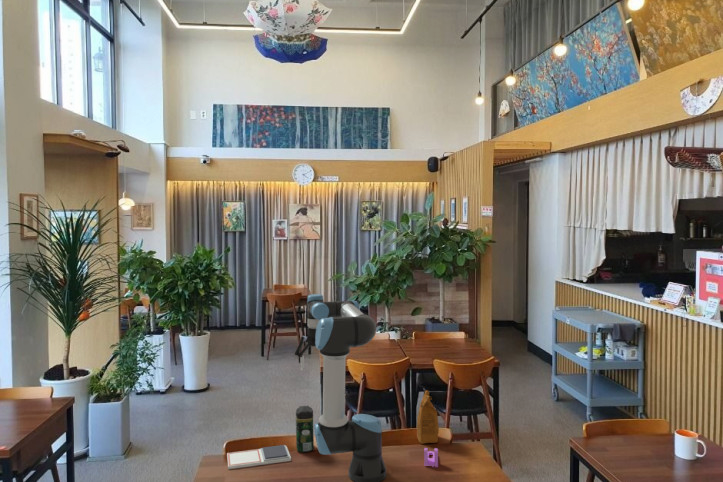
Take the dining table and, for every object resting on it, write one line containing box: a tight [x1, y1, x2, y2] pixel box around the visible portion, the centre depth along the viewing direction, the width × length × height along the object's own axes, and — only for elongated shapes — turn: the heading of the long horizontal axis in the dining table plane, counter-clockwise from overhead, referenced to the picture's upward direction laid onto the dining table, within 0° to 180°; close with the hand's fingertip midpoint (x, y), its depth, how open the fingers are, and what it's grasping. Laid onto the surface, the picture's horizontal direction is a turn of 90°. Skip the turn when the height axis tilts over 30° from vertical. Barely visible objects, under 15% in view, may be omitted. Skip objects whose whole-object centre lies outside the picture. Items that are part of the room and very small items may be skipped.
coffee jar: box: [295, 405, 315, 453], centre depth 228 cm, size 10×8×19 cm
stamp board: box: [226, 445, 292, 470], centre depth 218 cm, size 14×26×1 cm, turn 107°
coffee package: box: [416, 390, 440, 445], centre depth 237 cm, size 10×12×22 cm
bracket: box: [423, 447, 439, 468], centre depth 215 cm, size 13×6×7 cm, turn 173°
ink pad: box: [260, 444, 291, 461], centre depth 220 cm, size 13×11×1 cm
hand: (315, 370), depth 242 cm, fingers open, 13 cm apart
